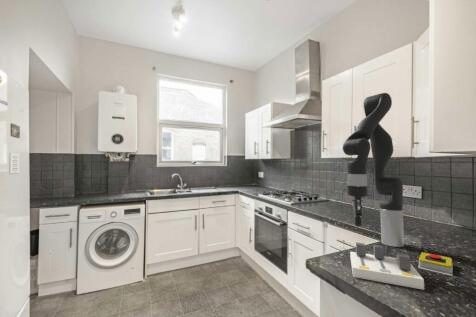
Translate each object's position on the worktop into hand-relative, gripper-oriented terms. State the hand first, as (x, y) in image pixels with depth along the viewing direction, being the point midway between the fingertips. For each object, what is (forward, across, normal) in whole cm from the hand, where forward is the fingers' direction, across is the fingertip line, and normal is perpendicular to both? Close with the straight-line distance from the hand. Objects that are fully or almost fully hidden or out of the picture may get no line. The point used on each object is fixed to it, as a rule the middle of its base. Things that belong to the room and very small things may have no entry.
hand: (358, 225), depth 92 cm
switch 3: (+9, +15, +12) cm, 22 cm away
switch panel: (+13, +13, +6) cm, 19 cm away
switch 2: (+9, +8, +6) cm, 14 cm away
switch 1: (+9, +8, 0) cm, 12 cm away
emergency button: (+13, -3, +26) cm, 29 cm away
